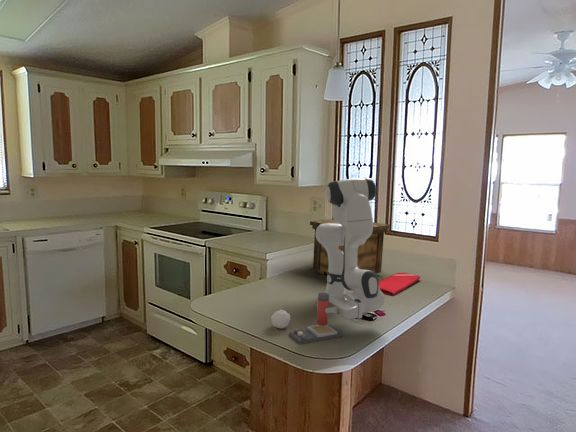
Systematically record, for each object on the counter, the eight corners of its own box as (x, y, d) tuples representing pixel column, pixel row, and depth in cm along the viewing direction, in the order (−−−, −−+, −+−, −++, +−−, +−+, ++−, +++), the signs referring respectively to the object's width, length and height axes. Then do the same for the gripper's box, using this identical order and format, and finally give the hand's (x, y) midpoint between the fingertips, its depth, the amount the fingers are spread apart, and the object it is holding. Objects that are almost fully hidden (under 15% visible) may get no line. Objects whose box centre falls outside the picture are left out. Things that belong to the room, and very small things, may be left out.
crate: (350, 285, 237) (354, 229, 232) (307, 272, 262) (310, 221, 258) (386, 276, 260) (389, 224, 256) (343, 264, 286) (346, 217, 281)
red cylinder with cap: (324, 320, 169) (325, 292, 167) (329, 324, 165) (331, 295, 164) (314, 322, 167) (316, 293, 165) (320, 326, 163) (321, 296, 162)
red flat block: (366, 290, 230) (367, 284, 230) (396, 276, 262) (396, 270, 262) (393, 297, 221) (394, 290, 220) (420, 281, 253) (421, 275, 252)
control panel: (329, 328, 174) (329, 322, 173) (341, 336, 166) (341, 330, 165) (289, 334, 165) (289, 329, 165) (299, 344, 157) (300, 338, 157)
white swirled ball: (288, 324, 176) (289, 306, 175) (291, 331, 169) (292, 313, 168) (270, 324, 175) (270, 306, 174) (271, 331, 168) (272, 313, 167)
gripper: (336, 289, 180) (308, 292, 174) (365, 304, 162) (335, 308, 156) (335, 303, 181) (307, 307, 174) (364, 319, 163) (334, 324, 156)
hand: (321, 308), depth 165 cm, fingers closed on red cylinder with cap, 4 cm apart
